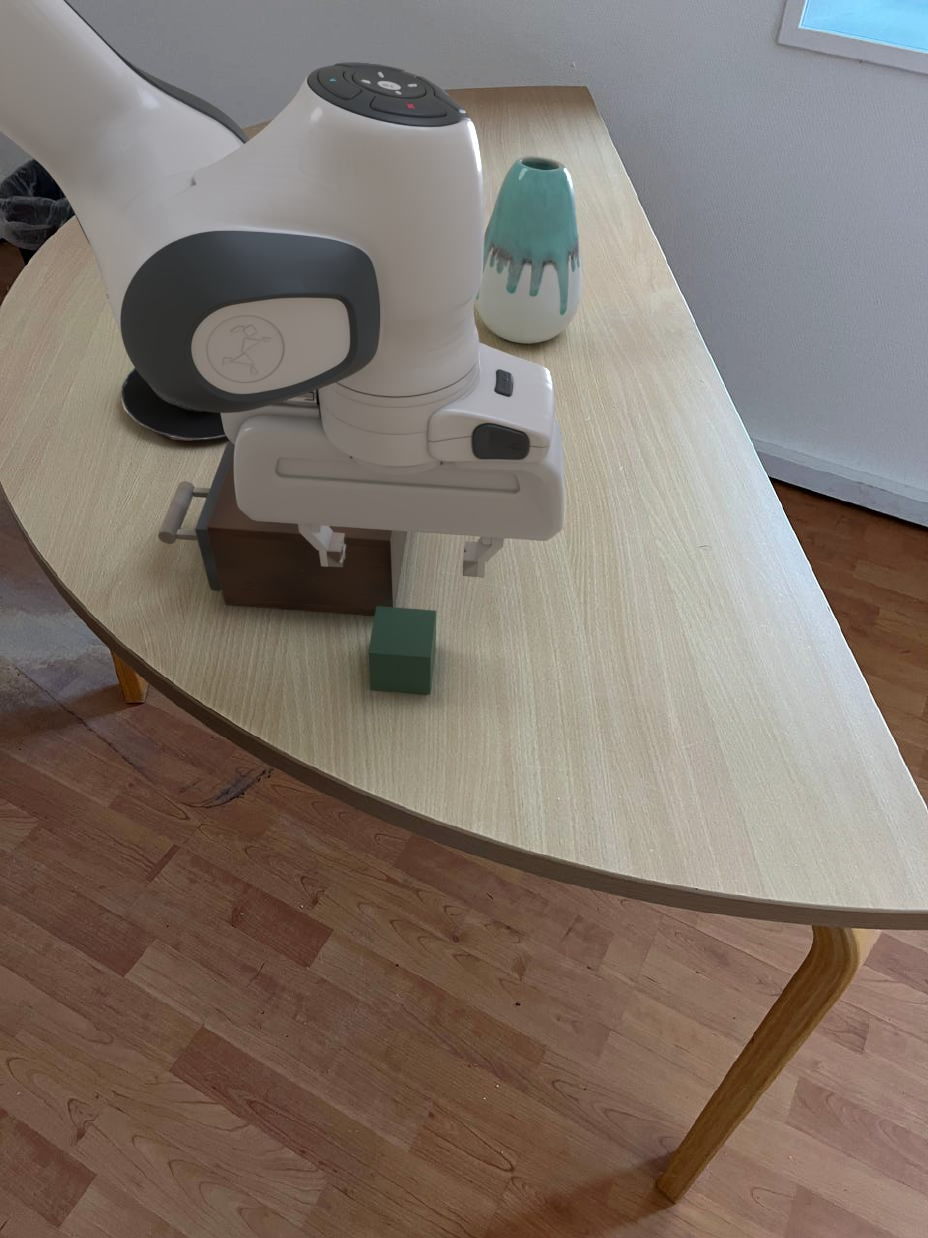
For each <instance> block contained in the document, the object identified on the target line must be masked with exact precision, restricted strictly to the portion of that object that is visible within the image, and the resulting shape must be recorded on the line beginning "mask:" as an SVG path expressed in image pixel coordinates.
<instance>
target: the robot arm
mask: <svg viewBox="0 0 928 1238" xmlns="http://www.w3.org/2000/svg"><path fill="white" fill-rule="evenodd" d="M0 132H1V133H2V134H4V135H5V136H6V137H7V138H8V139H10V140H11V141H12V142H13V143H15V144H16V145H17V146H18V147H19V148H21V149H22V150H23V151H24V152H26V153H27V154H28V155H29V156H30V157H32V158H33V159H34V160H35V161H37V162H38V164H39V165H40V166H41V167H43V168H44V169H45V171H46V172H47V173H48V174H49V175H50V177H52V179H53V180H54V181H55V183H56V184H57V185H58V187H59V188H60V190H61V191H62V193H63V194H64V196H65V198H66V200H67V202H68V203H69V205H70V207H71V210H72V212H73V214H74V216H75V218H76V220H77V222H78V225H79V226H80V228H81V230H82V232H83V234H84V236H85V239H86V241H87V243H88V245H89V247H91V251H92V253H93V257H94V259H95V262H96V265H97V268H98V271H99V274H100V277H101V279H102V282H103V283H102V284H103V286H104V289H105V291H106V293H105V295H106V297H107V300H108V302H109V306H110V309H111V313H112V315H113V319H114V321H115V323H116V326H117V328H118V331H119V334H120V336H121V340H122V343H123V347H124V349H125V351H126V354H127V356H128V359H129V361H130V362H131V364H132V365H133V367H134V368H135V369H136V370H137V371H138V373H139V374H140V375H141V376H142V377H143V378H144V380H145V381H146V382H147V383H148V384H149V385H151V386H152V387H153V388H154V389H155V390H157V391H158V392H159V393H161V394H162V395H164V396H165V397H167V398H169V399H171V400H172V401H175V402H177V403H179V404H181V405H184V406H187V407H190V408H193V409H197V410H201V411H207V412H215V413H220V414H221V418H222V423H223V428H224V432H225V434H226V436H227V437H226V438H227V439H228V440H229V442H232V443H233V444H234V445H235V449H234V484H235V494H236V501H237V505H238V508H239V509H240V510H241V511H242V512H243V513H245V514H246V515H247V516H248V517H249V518H251V519H252V520H255V521H264V522H279V523H294V524H298V528H299V532H300V533H301V534H302V535H303V536H304V537H305V538H306V539H307V540H308V541H309V542H310V543H311V544H312V545H313V546H314V547H315V549H316V550H319V555H320V563H321V566H325V567H342V568H343V566H344V559H345V558H346V544H345V541H346V539H345V533H338V532H333V531H332V530H331V528H330V527H329V526H336V527H350V528H365V529H379V530H394V531H407V533H409V532H410V533H423V534H425V533H426V534H437V535H451V536H466V537H467V536H468V537H479V539H478V540H477V541H464V549H463V558H462V577H469V578H470V577H471V578H480V579H481V578H482V579H484V578H485V575H486V573H485V571H486V563H488V562H489V561H490V560H491V559H492V558H493V557H494V556H495V555H496V554H497V553H498V552H499V551H500V550H502V548H504V543H505V539H511V540H525V541H538V542H547V541H550V540H551V539H553V538H554V537H555V536H557V535H558V534H559V533H561V531H562V530H563V526H564V519H565V518H564V517H565V490H566V489H565V487H566V486H565V485H566V484H565V482H566V481H565V455H564V453H565V452H564V442H563V434H562V430H561V428H560V423H559V422H558V421H557V419H556V397H555V388H554V383H553V378H552V374H551V372H550V371H549V370H548V368H546V367H545V366H543V365H541V364H538V363H536V362H534V361H530V360H527V359H524V358H522V357H519V356H516V355H513V354H510V353H507V352H504V351H502V350H499V349H497V348H495V347H492V346H490V345H487V344H485V343H482V342H481V341H480V337H479V331H478V328H477V325H476V321H475V315H474V313H475V312H474V311H475V300H476V297H477V294H478V292H479V289H480V286H481V282H482V276H483V257H484V235H485V199H484V196H485V195H484V180H483V167H482V158H481V157H482V156H481V151H480V145H479V144H480V143H479V139H478V134H477V130H476V128H475V124H474V122H473V120H472V118H471V117H470V116H469V115H468V113H466V110H465V109H464V108H463V107H462V105H460V104H459V102H457V101H456V99H454V98H453V97H452V96H451V95H450V94H449V93H448V92H446V91H445V90H444V89H442V88H441V87H440V86H438V85H436V83H435V82H432V81H430V80H429V79H427V78H426V77H424V76H421V75H417V74H415V73H411V72H408V71H406V70H405V69H402V68H399V67H395V66H389V65H385V64H379V63H370V62H358V61H357V62H354V61H353V62H352V61H351V62H350V61H349V62H337V63H335V64H331V65H326V66H322V67H319V68H315V70H313V71H311V72H310V73H308V74H307V76H306V77H305V78H304V81H303V82H302V84H301V86H300V87H299V89H298V91H297V93H296V95H295V96H294V97H293V98H292V99H291V101H290V102H288V104H287V105H286V107H284V109H282V110H281V111H280V112H279V114H277V115H276V117H274V118H273V119H272V120H271V121H270V122H269V123H268V124H267V125H266V126H265V127H264V128H262V130H260V131H259V132H258V133H257V134H255V136H252V137H251V138H250V137H249V136H248V135H247V133H245V132H244V130H243V129H242V128H241V127H240V126H239V125H238V123H237V122H236V121H234V119H233V118H231V117H230V116H229V115H227V114H226V113H225V112H224V111H222V110H221V109H219V108H218V107H217V106H215V105H213V104H212V103H210V102H208V101H207V100H205V99H203V98H201V97H199V96H197V95H196V94H193V93H191V92H188V91H187V90H184V89H182V88H180V87H178V86H175V85H173V84H171V83H168V82H167V81H165V80H162V79H160V78H158V77H156V76H154V75H152V74H150V73H148V72H146V71H144V70H143V69H142V68H140V67H138V66H136V65H135V64H133V63H132V62H131V61H129V60H128V59H127V58H125V57H124V56H123V55H121V54H120V53H119V52H118V51H117V50H116V49H115V48H114V47H113V46H111V44H110V43H109V42H108V41H107V40H106V39H105V38H104V37H103V36H102V35H101V34H100V33H99V32H98V31H97V30H96V29H95V28H94V27H93V26H92V25H91V24H90V23H89V22H88V21H87V20H86V19H85V18H84V17H83V16H82V15H81V14H80V12H78V10H76V9H75V8H74V7H73V6H72V4H71V3H70V2H68V1H67V0H0Z"/></svg>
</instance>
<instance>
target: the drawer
mask: <svg viewBox="0 0 928 1238" xmlns="http://www.w3.org/2000/svg"><path fill="white" fill-rule="evenodd" d="M234 449H235V445H234V444H233V443H232V442H231V441H227V442H226V445H225V447H224V451H223V453H222V455H221V458H220V461H219V464H218V466H217V469H216V472H215V473H214V477H213V480H212V482H211V485H210V488H209V487H196V486H195V485H194V484H193V483H191V482H190V481H187V480H184V481H183V480H182V481H180V482H179V483H178V485H177V488H176V490H175V492H174V494H173V498H172V499H171V501H170V505H169V507H168V510H167V513H166V514H165V517H164V519H163V522H162V524H161V525H160V529H159V531H158V534H157V538H158V540H160V542H162V543H164V544H166V545H167V544H168V545H172V544H175V543H176V541H177V540H181V541H182V540H184V541H194V542H195V541H197V544H198V547H199V552H200V554H201V555H200V556H201V558H202V564H203V567H204V571H205V575H206V579H207V583H208V586H209V590H210V591H214V592H215V591H216V592H217V591H218V592H222V589H221V585H220V581H219V577H218V573H217V569H216V565H215V561H214V556H213V552H212V548H211V544H210V540H209V536H208V531H207V525H208V522H209V519H210V516H211V514H212V511H213V508H214V505H215V503H216V500H217V497H218V494H219V492H220V489H221V486H222V483H223V481H224V478H225V475H226V472H227V470H228V467H229V464H230V462H231V459H232V456H233V453H234ZM193 498H205V501H204V503H203V506H202V509H201V512H200V514H199V517H198V520H197V522H196V525H195V528H194V529H183V528H182V525H183V524H184V521H185V518H186V516H187V513H188V510H189V507H190V505H191V503H192V500H193Z"/></svg>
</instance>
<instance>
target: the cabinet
mask: <svg viewBox="0 0 928 1238" xmlns="http://www.w3.org/2000/svg"><path fill="white" fill-rule="evenodd" d="M329 527H330V528H331V530H332V531H333V532H338V533H345V539H346V541H345V544H346V558H345V559H344V566H343V568H342V567H325V566H321V563H320V555H319V550H316V549H315V547H314V546H313V545H312V544H311V543H310V542H309V541H308V540H307V539H306V538H305V537H304V536H303V535H302V534H301V533H300V532H299V528H298V524H294V523H279V522H264V521H255V520H252V519H251V518H249V517H248V516H247V515H246V514H245V513H243V512H242V511H241V510H240V509H239V508H238V505H237V501H236V494H235V484H234V453H233V456H232V459H231V462H230V464H229V467H228V470H227V472H226V475H225V478H224V481H223V483H222V486H221V489H220V492H219V494H218V497H217V500H216V503H215V505H214V508H213V511H212V514H211V516H210V519H209V522H208V525H207V531H208V536H209V540H210V544H211V548H212V552H213V556H214V561H215V565H216V569H217V573H218V577H219V581H220V585H221V589H222V591H221V594H222V597H223V601H224V604H225V605H227V606H240V607H241V606H242V607H253V608H266V609H267V608H268V609H280V610H281V609H282V610H293V611H306V612H318V613H330V614H331V613H334V614H345V615H359V616H373V617H374V616H375V611H376V606H382V607H395V608H396V604H397V597H398V592H399V591H398V590H399V584H400V578H401V572H402V565H403V559H404V555H405V554H404V553H405V546H406V541H407V535H408V531H394V530H379V529H365V528H350V527H336V526H329Z"/></svg>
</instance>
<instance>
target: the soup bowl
mask: <svg viewBox="0 0 928 1238" xmlns="http://www.w3.org/2000/svg"><path fill="white" fill-rule="evenodd" d="M126 376H127V377H126V378H125V379H124V381H123V383H122V385H121V389H120V401H121V405H122V408H123V410H124V412H125V413H126V414H128V415H129V416H130V417H131V418H132V419H133V420H134V421H135V422H136V423H138V424H140V426H142V427H144V428H147V429H149V430H151V431H152V432H155V433H157V434H159V435H161V436H163V437H166V438H167V439H170V440H178V441H187V442H188V441H203V440H204V441H205V440H206V441H212V440H219V439H224V438H228V437H227V436H226V434H225V432H224V428H223V423H222V418H221V414H220V413H215V412H207V411H201V410H197V409H193V408H190V407H187V406H184V405H181V404H179V403H177V402H175V401H172V400H171V399H169V398H167V397H165V396H164V395H162V394H161V393H159V392H158V391H157V390H155V389H154V388H153V387H152V386H151V385H149V384H148V383H147V382H146V381H145V380H144V378H143V377H142V376H141V375H140V374H139V373H138V371H137V370H136V369H135V367H134V368H132V369H131V371H129V372H128V374H127V375H126Z"/></svg>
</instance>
